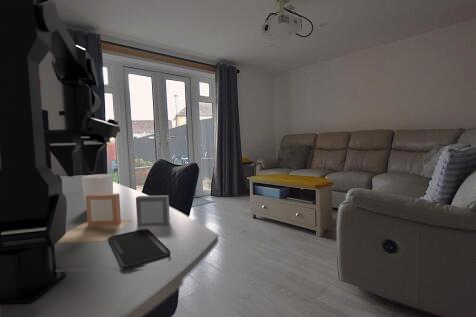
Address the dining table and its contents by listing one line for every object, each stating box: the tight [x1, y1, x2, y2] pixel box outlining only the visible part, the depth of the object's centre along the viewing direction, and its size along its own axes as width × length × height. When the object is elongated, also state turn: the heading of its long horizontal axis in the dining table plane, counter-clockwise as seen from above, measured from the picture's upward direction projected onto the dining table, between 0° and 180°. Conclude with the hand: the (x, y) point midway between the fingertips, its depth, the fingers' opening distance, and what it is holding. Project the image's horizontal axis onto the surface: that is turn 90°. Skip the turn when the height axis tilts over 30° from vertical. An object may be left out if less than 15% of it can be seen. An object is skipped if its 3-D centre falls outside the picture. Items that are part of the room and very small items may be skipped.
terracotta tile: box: [85, 193, 122, 225], centre depth 58 cm, size 2×7×7 cm, turn 90°
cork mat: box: [56, 219, 133, 244], centre depth 55 cm, size 13×11×1 cm
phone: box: [107, 228, 171, 272], centre depth 46 cm, size 8×1×15 cm
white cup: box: [81, 173, 114, 211], centre depth 72 cm, size 8×8×10 cm
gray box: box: [135, 194, 171, 227], centre depth 57 cm, size 2×7×7 cm, turn 90°
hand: (82, 173), depth 59 cm, fingers open, 9 cm apart
